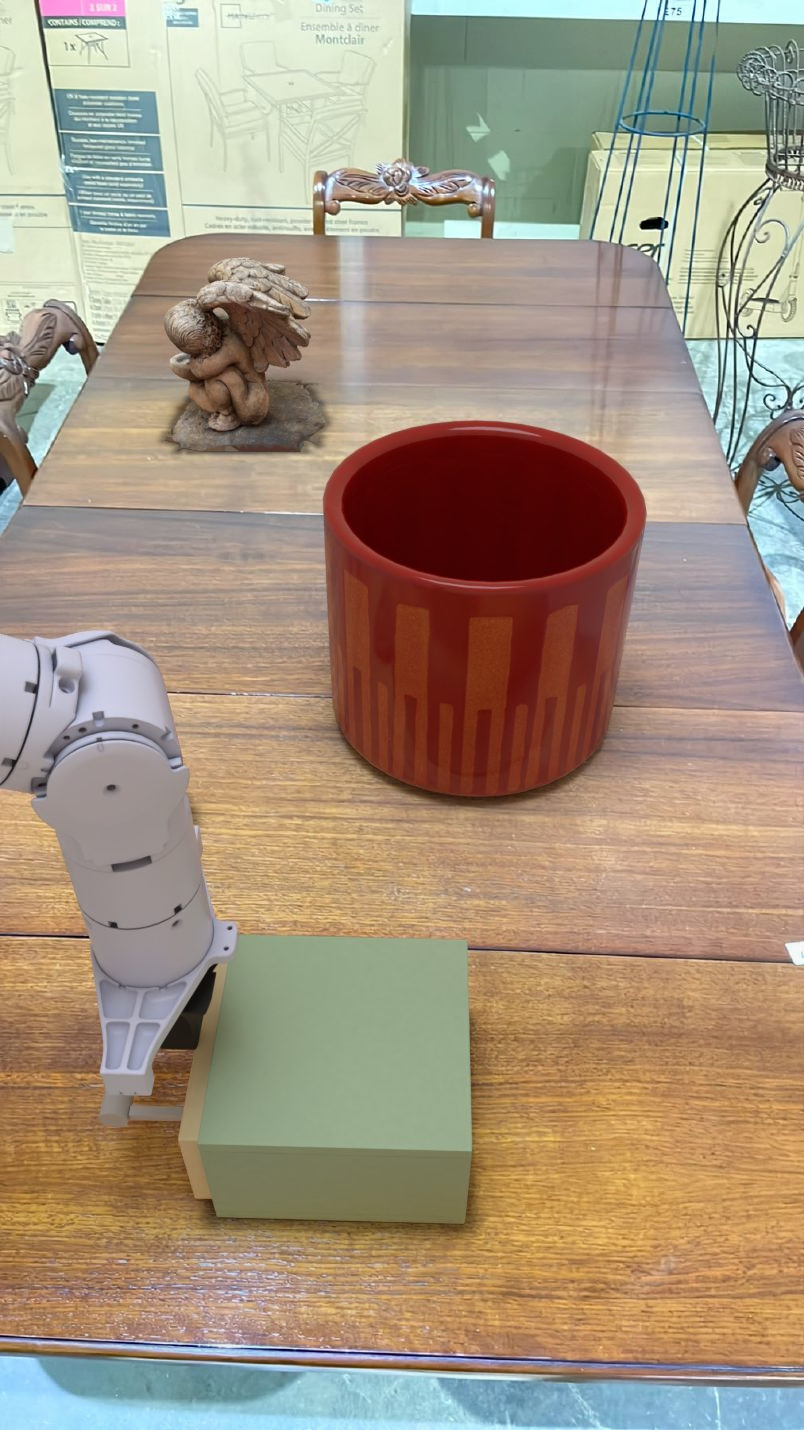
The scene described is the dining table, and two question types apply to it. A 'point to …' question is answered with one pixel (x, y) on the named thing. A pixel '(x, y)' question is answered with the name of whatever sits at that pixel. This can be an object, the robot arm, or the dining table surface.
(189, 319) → the cherub figurine
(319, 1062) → the cabinet
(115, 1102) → the drawer
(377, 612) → the planter
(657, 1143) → the dining table surface
